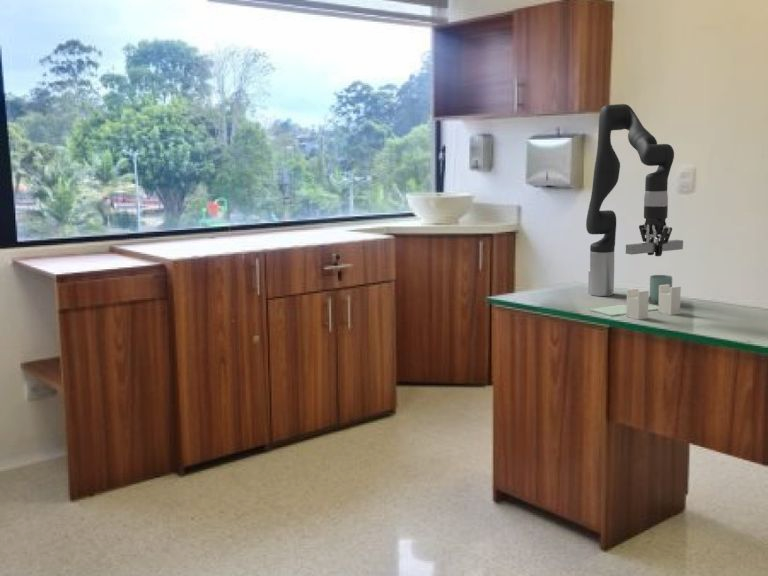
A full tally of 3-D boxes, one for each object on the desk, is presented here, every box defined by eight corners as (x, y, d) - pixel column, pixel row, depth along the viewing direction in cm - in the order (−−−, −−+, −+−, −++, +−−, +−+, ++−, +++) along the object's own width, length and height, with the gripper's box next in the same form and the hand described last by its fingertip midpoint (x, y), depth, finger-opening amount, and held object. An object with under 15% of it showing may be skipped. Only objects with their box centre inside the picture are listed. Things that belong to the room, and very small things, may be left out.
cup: (673, 305, 280) (674, 278, 278) (650, 305, 282) (651, 278, 280) (669, 301, 287) (670, 274, 286) (648, 301, 289) (648, 274, 287)
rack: (626, 316, 264) (626, 289, 262) (667, 310, 271) (667, 284, 269) (638, 319, 258) (639, 291, 257) (679, 313, 265) (680, 286, 263)
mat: (589, 310, 276) (589, 309, 276) (642, 303, 285) (642, 302, 285) (611, 316, 265) (611, 314, 265) (665, 308, 274) (665, 307, 274)
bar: (625, 253, 258) (625, 244, 257) (676, 248, 266) (676, 239, 266) (631, 254, 255) (631, 245, 255) (682, 249, 264) (683, 240, 263)
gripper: (632, 204, 263) (631, 254, 266) (662, 206, 250) (660, 258, 253) (649, 203, 266) (648, 252, 269) (680, 204, 253) (678, 256, 256)
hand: (654, 255), depth 261 cm, fingers closed on bar, 3 cm apart
